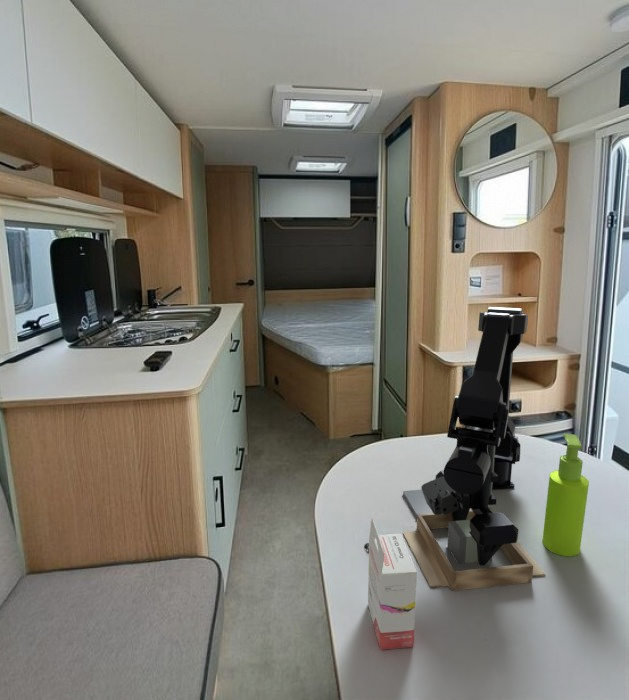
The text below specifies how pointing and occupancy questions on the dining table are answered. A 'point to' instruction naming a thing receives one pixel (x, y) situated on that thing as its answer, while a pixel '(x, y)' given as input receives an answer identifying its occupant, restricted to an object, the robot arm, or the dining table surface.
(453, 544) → the box
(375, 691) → the dining table surface
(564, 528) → the soap dispenser
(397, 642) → the ink cartridge box
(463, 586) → the wooden frame
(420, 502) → the coaster
